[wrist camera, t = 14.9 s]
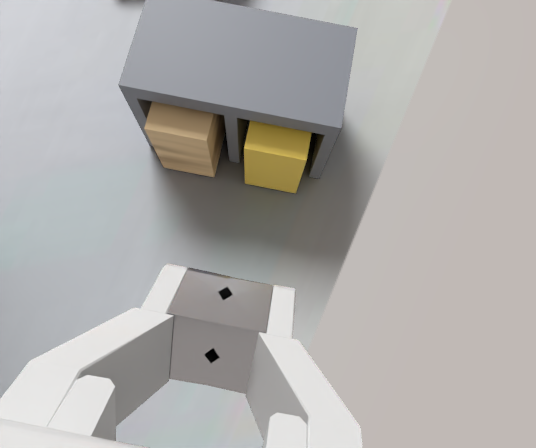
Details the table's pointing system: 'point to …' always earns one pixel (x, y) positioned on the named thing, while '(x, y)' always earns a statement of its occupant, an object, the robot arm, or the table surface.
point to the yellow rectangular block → (275, 156)
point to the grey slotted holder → (241, 69)
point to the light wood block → (186, 138)
